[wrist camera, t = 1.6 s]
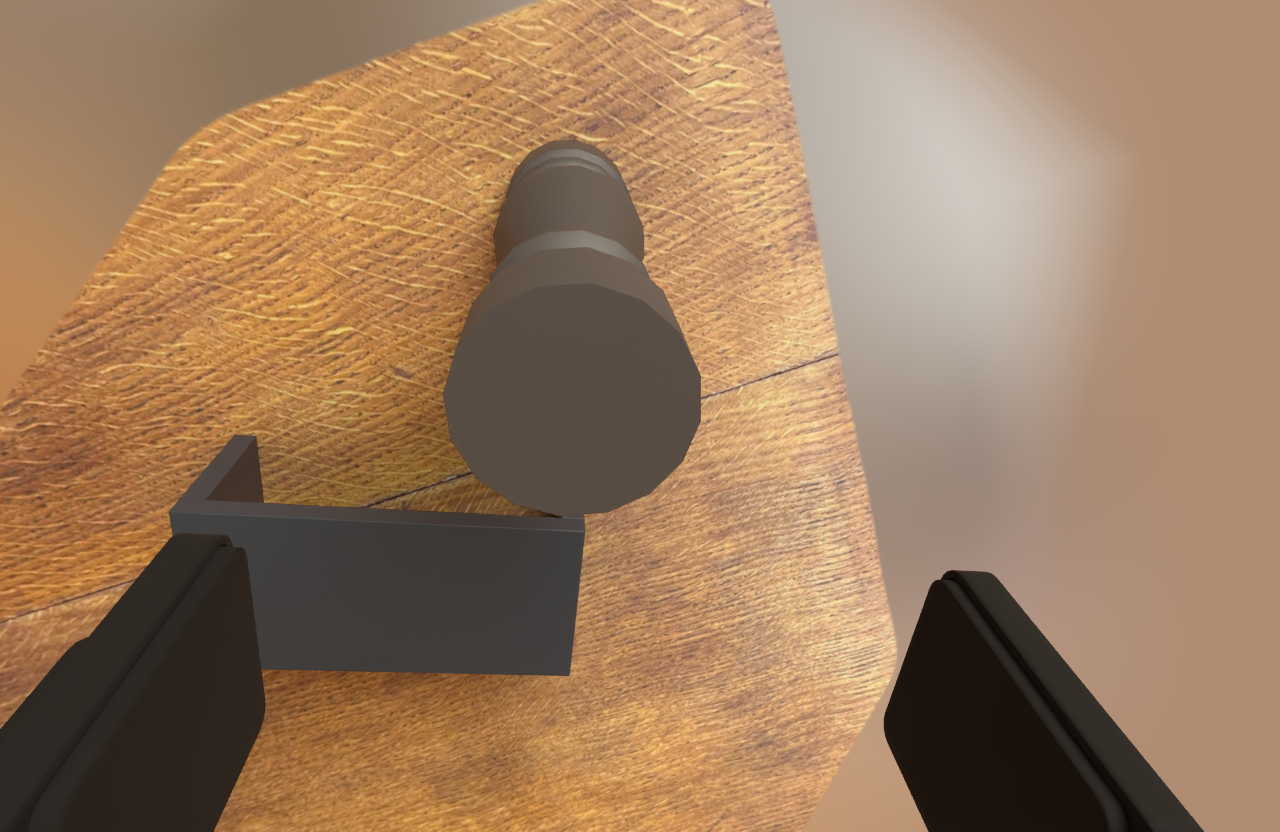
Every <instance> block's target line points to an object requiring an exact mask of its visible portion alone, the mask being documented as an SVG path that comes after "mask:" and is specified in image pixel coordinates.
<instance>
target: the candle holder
mask: <svg viewBox="0 0 1280 832" xmlns="http://www.w3.org/2000/svg"><path fill="white" fill-rule="evenodd" d="M493 237H494V245H495V253H496V261H497V266H498V267H497V268H496V269H495V270H494V271H493V273H492V276H491V279H490V282H489V284H488V285H487V286H486V288H485V289H484V290H483V291H482V292H481V293H480V295H479V296H478V297H477V298H476V299H475V301H474V302H473V303H472V306H471V309H470V311H469V314H468V317H467V320H466V322H465V325H464V328H463V331H462V333H461V336H460V339H459V342H458V344H457V347H456V350H455V354H454V357H453V361H452V364H451V368H450V371H449V375H448V379H447V382H446V386H445V389H444V393H443V397H444V403H445V409H446V415H447V421H448V427H449V432H450V438H451V441H452V443H453V444H454V446H455V447H456V449H457V450H458V452H459V453H460V455H461V456H462V457H463V459H464V460H465V462H466V463H467V465H468V466H469V468H470V469H471V471H472V472H473V474H474V475H475V477H476V478H477V479H478V480H480V481H481V482H483V483H484V484H486V485H487V486H488V487H490V488H491V489H493V490H494V491H496V492H497V493H499V494H500V495H502V496H503V497H505V498H506V499H508V500H509V501H510V502H512V503H513V504H515V505H519V506H523V507H526V508H530V509H534V510H538V511H542V512H546V513H550V514H554V515H558V516H569V515H581V514H593V513H605V512H609V511H612V510H614V509H616V508H618V507H621V506H623V505H625V504H628V503H630V502H632V501H634V500H637V499H639V498H641V497H643V496H646V495H648V494H650V493H651V492H652V491H653V490H654V489H655V488H656V487H657V486H658V485H659V484H660V483H661V482H662V481H664V480H665V479H666V478H667V477H668V476H669V475H670V474H671V473H672V472H673V471H674V470H675V469H676V468H677V467H678V466H679V465H680V464H681V463H682V462H683V460H684V458H685V455H686V453H687V451H688V449H689V446H690V444H691V442H692V440H693V437H694V435H695V433H696V431H697V428H698V426H699V424H700V422H701V376H700V373H699V371H698V369H697V366H696V364H695V362H694V359H693V357H692V355H691V352H690V350H689V347H688V345H687V343H686V340H685V338H684V336H683V333H682V331H681V329H680V326H679V324H678V322H677V320H676V318H675V315H674V313H673V311H672V309H671V307H670V305H669V302H668V300H667V298H666V296H665V294H664V292H663V290H662V289H661V288H659V287H658V286H657V285H656V284H655V283H654V282H653V281H652V280H651V279H650V277H649V275H648V273H647V271H646V268H645V266H644V264H643V263H642V261H643V258H644V232H643V225H642V223H641V220H640V218H639V216H638V214H637V212H636V209H635V207H634V205H633V203H632V200H631V197H630V194H629V192H628V190H627V188H626V186H625V183H624V181H623V179H622V177H621V175H620V172H619V170H618V168H617V166H616V165H615V164H614V163H613V162H612V161H611V160H610V159H609V158H608V157H607V156H606V155H605V154H604V153H603V152H602V151H601V150H600V149H598V148H596V147H593V146H590V145H588V144H585V143H583V142H580V141H577V140H565V141H551V142H549V143H547V144H545V145H543V146H541V147H539V148H537V149H535V150H533V151H531V152H530V153H529V154H528V155H527V157H526V158H525V159H524V160H523V161H522V163H521V164H520V165H519V166H518V168H517V169H516V170H515V172H514V174H513V177H512V179H511V182H510V186H509V189H508V193H507V196H506V200H505V201H504V202H503V204H502V206H501V210H500V213H499V217H498V220H497V224H496V227H495V231H494V234H493Z"/></svg>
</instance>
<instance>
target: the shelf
mask: <svg viewBox="0 0 1280 832" xmlns="http://www.w3.org/2000/svg"><path fill="white" fill-rule="evenodd" d="M169 516H170V522H171V527H172V533H173V536H174V535H175V534H178V533H195V534H216V535H226V536H228V537H229V538H230V539H231V541H232V544H233V547H242V548H244V550H245V552H246V555H247V561H248V569H249V577H250V584H251V592H252V600H253V608H254V616H255V623H256V631H257V639H258V647H259V655H260V662H261V669H273V670H319V671H365V672H412V673H458V674H504V675H550V676H569V675H570V668H571V658H572V649H573V640H574V630H575V621H576V612H577V602H578V593H579V584H580V574H581V565H582V556H583V546H584V537H585V520H584V514H581V515H569V516H558V515H557V518H553V517H534V516H514V515H494V514H474V513H454V512H434V511H414V510H394V509H374V508H354V507H334V506H314V505H294V504H274V503H264V501H263V492H262V484H261V475H260V466H259V457H258V448H257V440H256V436H243V435H234V436H233V437H232V439H231V440H230V441H229V442H228V443H227V444H226V446H225V447H224V448H223V449H222V450H221V451H220V453H219V454H218V455H217V456H216V457H215V458H214V460H213V461H212V462H211V463H210V464H209V465H208V467H207V468H206V469H205V470H204V471H203V472H202V474H201V475H200V476H199V477H198V478H197V479H196V481H195V482H194V483H193V484H192V485H191V486H190V488H189V489H188V490H187V491H186V492H185V493H184V494H183V496H182V497H181V498H180V499H179V500H178V502H177V503H176V504H175V505H174V506H173V507H172V509H171V510H170V511H169Z"/></svg>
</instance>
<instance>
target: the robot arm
mask: <svg viewBox="0 0 1280 832" xmlns="http://www.w3.org/2000/svg"><path fill="white" fill-rule="evenodd" d="M264 714H265V694H264V686H263V678H262V670H261V662H260V655H259V647H258V639H257V631H256V623H255V616H254V608H253V600H252V592H251V584H250V577H249V569H248V561H247V555H246V552H245V550H244V548H242V547H233V544H232V541H231V539H230V538H229V537H228V536H226V535H216V534H195V533H178V534H175V535H174V536H173V537H172V538H170V539H169V541H168V542H167V543H166V544H165V545H164V547H163V548H162V549H161V550H160V551H159V553H158V554H157V555H156V556H155V558H154V559H153V560H152V561H151V562H150V564H149V565H148V566H147V567H146V568H145V570H144V571H143V572H142V573H141V574H140V576H139V577H138V578H137V579H136V580H135V582H134V583H133V584H132V585H131V586H130V588H129V589H128V590H127V591H126V592H125V594H124V595H123V596H122V597H121V598H120V600H119V601H118V602H117V603H116V605H115V606H114V607H113V608H112V609H111V611H110V612H109V613H108V614H107V615H106V617H105V618H104V619H103V620H102V621H101V623H100V624H99V625H98V626H97V627H96V629H95V630H94V631H93V632H92V633H91V635H90V636H89V637H87V638H84V639H82V640H80V641H78V642H76V643H75V644H74V645H73V646H72V647H71V648H70V649H69V650H67V651H66V652H65V654H64V655H63V656H62V657H61V658H60V659H59V661H58V662H57V663H56V664H55V665H54V666H53V668H52V669H51V670H50V671H49V672H48V674H47V675H46V676H45V677H44V678H43V679H42V681H41V682H40V683H39V684H38V685H37V687H36V688H35V689H34V690H33V691H32V692H31V694H30V695H29V696H28V697H27V698H26V700H25V701H24V702H23V703H22V704H21V705H20V707H19V708H18V709H17V710H16V711H15V713H14V714H13V715H12V716H11V717H10V718H9V720H8V721H7V722H6V723H5V724H4V726H3V727H2V728H1V729H0V832H214V829H215V827H216V825H217V823H218V821H219V819H220V816H221V814H222V812H223V810H224V808H225V806H226V803H227V801H228V799H229V797H230V795H231V793H232V790H233V788H234V786H235V784H236V782H237V779H238V777H239V775H240V773H241V771H242V769H243V766H244V764H245V762H246V760H247V758H248V756H249V753H250V751H251V749H252V747H253V745H254V743H255V740H256V738H257V736H258V734H259V732H260V729H261V726H262V723H263V719H264ZM884 732H885V737H886V740H887V742H888V745H889V747H890V749H891V751H892V754H893V756H894V758H895V760H896V762H897V764H898V766H899V769H900V771H901V773H902V775H903V777H904V780H905V782H906V784H907V786H908V788H909V790H910V793H911V795H912V796H913V799H914V801H915V803H916V806H917V808H918V810H919V812H920V814H921V816H922V819H923V820H924V823H925V825H926V827H927V829H928V831H929V832H1204V831H1203V830H1202V829H1201V827H1200V826H1199V825H1198V824H1197V822H1196V821H1195V820H1194V819H1193V817H1192V816H1191V815H1190V814H1189V813H1188V811H1187V810H1186V809H1185V808H1184V806H1183V805H1182V804H1181V803H1180V802H1179V800H1178V799H1177V798H1176V797H1175V795H1174V794H1173V793H1172V792H1171V791H1170V789H1169V788H1168V787H1167V786H1166V784H1165V783H1164V782H1163V781H1162V779H1161V778H1160V777H1159V776H1158V775H1157V773H1156V772H1155V771H1154V770H1153V768H1152V767H1151V766H1150V765H1149V764H1148V762H1147V761H1146V760H1145V759H1144V758H1143V756H1142V755H1141V754H1140V753H1139V751H1138V750H1137V749H1136V748H1135V746H1134V745H1133V744H1132V743H1131V742H1130V741H1129V739H1128V738H1127V737H1126V735H1125V734H1124V733H1123V732H1122V731H1121V729H1120V728H1119V727H1118V726H1117V724H1116V723H1115V722H1114V721H1113V719H1112V718H1111V717H1110V716H1109V715H1108V713H1107V712H1106V711H1105V710H1104V709H1103V707H1102V706H1101V705H1100V704H1099V702H1098V701H1097V700H1096V699H1095V697H1094V696H1093V695H1092V694H1091V693H1090V691H1089V690H1088V689H1087V688H1086V687H1085V685H1084V684H1083V683H1082V682H1081V680H1080V679H1079V678H1078V677H1077V675H1075V673H1074V672H1073V671H1072V669H1071V668H1070V667H1069V666H1068V664H1067V663H1066V662H1065V661H1064V660H1063V658H1062V657H1061V656H1060V655H1059V653H1058V652H1057V651H1056V650H1055V648H1054V647H1053V646H1052V645H1051V644H1050V642H1049V641H1048V640H1047V639H1046V638H1045V636H1044V635H1043V634H1042V633H1041V631H1040V630H1039V629H1038V628H1037V626H1036V625H1035V624H1034V623H1033V622H1032V621H1031V619H1030V618H1029V617H1028V615H1027V614H1026V613H1025V612H1024V611H1023V609H1022V608H1021V607H1020V606H1019V604H1018V603H1017V602H1016V601H1015V599H1014V598H1013V597H1012V596H1011V595H1010V593H1009V592H1008V591H1007V590H1006V588H1005V587H1004V586H1003V585H1002V584H1001V582H1000V581H999V580H998V579H997V578H996V577H995V576H994V575H993V574H991V573H988V572H978V571H958V570H957V571H956V570H951V571H947V572H946V573H945V574H944V575H943V577H942V578H941V580H936V581H934V582H933V583H932V585H931V587H930V589H929V592H928V595H927V597H926V600H925V603H924V606H923V609H922V612H921V614H920V617H919V620H918V623H917V625H916V628H915V631H914V634H913V636H912V639H911V642H910V645H909V648H908V651H907V653H906V656H905V659H904V662H903V665H902V667H901V670H900V673H899V676H898V678H897V681H896V684H895V687H894V690H893V692H892V695H891V698H890V701H889V704H888V706H887V709H886V712H885V716H884Z"/></svg>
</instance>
